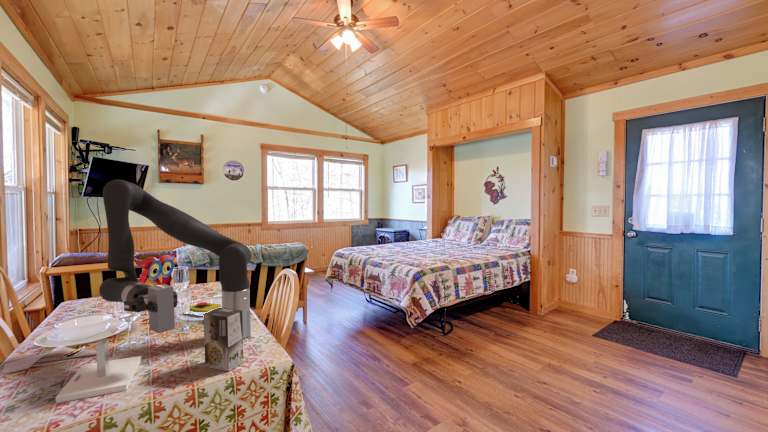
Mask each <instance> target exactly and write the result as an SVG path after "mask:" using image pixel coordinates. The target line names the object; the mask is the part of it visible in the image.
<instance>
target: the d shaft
mask: <svg viewBox="0 0 768 432" xmlns="http://www.w3.org/2000/svg"><path fill="white" fill-rule="evenodd" d="M95 346H96V347H95V348H96V363H97V378H98V377H104V376H106V375H107V373H108V372H109V361H110V355H109V339H108V338H107V339H100V340H99V341H98V342H97V343H96V344H95Z"/></svg>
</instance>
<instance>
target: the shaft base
mask: <svg viewBox="0 0 768 432" xmlns="http://www.w3.org/2000/svg"><path fill="white" fill-rule="evenodd" d="M141 362H142V355H137V356H131V357H125V358H118V359H111V360H110V359H109V372H108V373H107V375H106V376H104V377H98V378H97V362H93V363H92V362H90V363H85V364H82V365H81V366H80V368H79V369H78V370H77V371H76V373H75V374H74V375H73V376H72V377H71V378H70V379H69V381H68V382H67V383H66V384H65V385H64V387H63V388H62V389H61V390H60V391H59V392H58V394H57V395H56V396H55V404H59V403H65V402H70V401H71V402H72V401H75V400H81V399H86V398H92V397H98V396H103V395H107V394H108V395H109V394H114V393H118V392H124V391H125V392H126V391H127V390H128V388H129V386H130V384H131V382H132V380H133V378H134V376H135V374H136V372H137V370H138V368H139V366H140V364H141Z"/></svg>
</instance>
